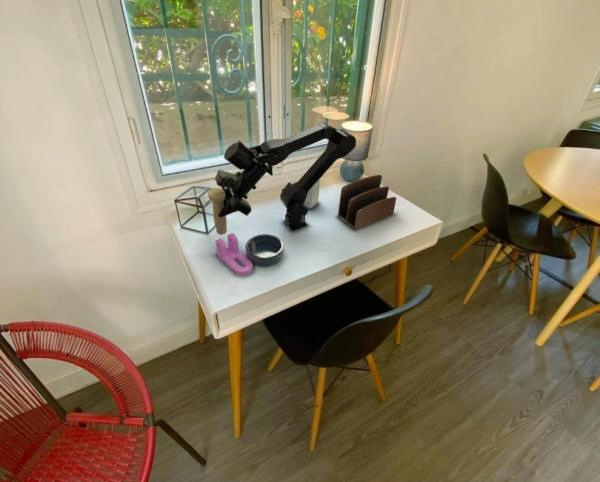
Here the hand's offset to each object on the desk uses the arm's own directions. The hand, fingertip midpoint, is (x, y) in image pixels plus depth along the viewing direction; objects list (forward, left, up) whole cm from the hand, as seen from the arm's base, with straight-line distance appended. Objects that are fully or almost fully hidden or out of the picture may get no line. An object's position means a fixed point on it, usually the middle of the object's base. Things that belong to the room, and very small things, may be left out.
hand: (218, 213), depth 105 cm
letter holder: (-52, +14, -11) cm, 55 cm away
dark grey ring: (-9, +14, -10) cm, 20 cm away
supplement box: (-38, -4, -11) cm, 40 cm away
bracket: (0, +13, -11) cm, 17 cm away
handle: (0, 0, -8) cm, 8 cm away
